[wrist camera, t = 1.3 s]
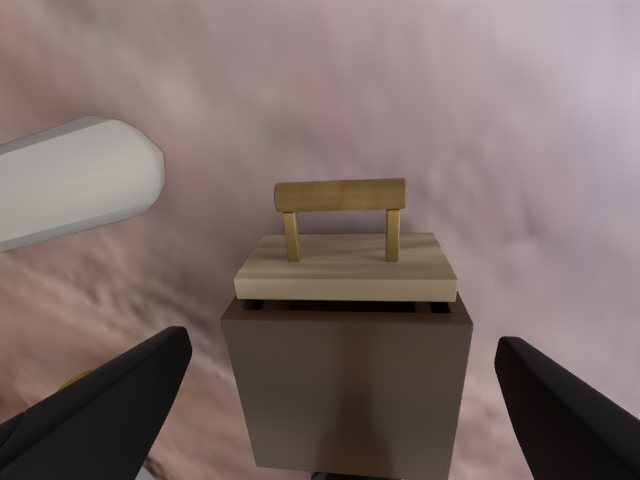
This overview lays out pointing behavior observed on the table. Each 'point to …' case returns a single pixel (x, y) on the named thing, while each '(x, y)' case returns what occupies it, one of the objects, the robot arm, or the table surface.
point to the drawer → (346, 256)
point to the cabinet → (351, 387)
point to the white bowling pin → (76, 180)
